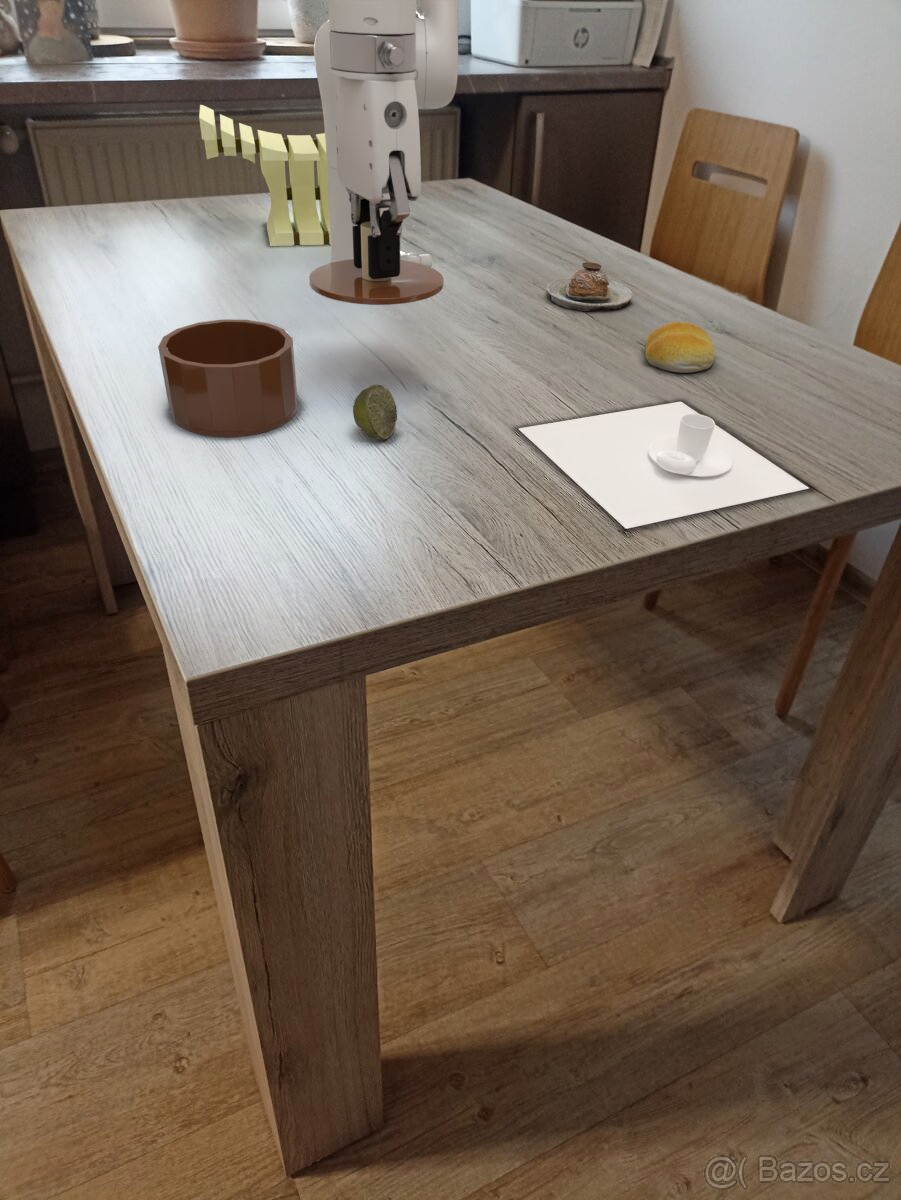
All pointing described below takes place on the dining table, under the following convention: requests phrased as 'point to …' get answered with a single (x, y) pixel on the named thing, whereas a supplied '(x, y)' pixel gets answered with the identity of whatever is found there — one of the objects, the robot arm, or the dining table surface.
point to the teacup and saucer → (659, 463)
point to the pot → (229, 377)
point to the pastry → (589, 290)
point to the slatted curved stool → (280, 176)
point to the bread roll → (680, 348)
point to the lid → (375, 280)
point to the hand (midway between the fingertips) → (376, 269)
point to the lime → (375, 412)
